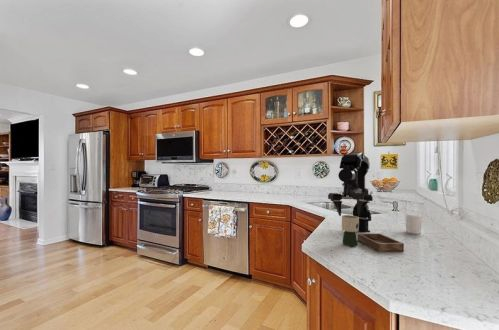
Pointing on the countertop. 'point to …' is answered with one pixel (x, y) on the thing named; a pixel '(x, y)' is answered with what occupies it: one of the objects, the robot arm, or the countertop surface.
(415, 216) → the white cup
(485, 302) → the countertop surface
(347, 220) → the character mug
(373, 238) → the box
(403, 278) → the countertop surface
